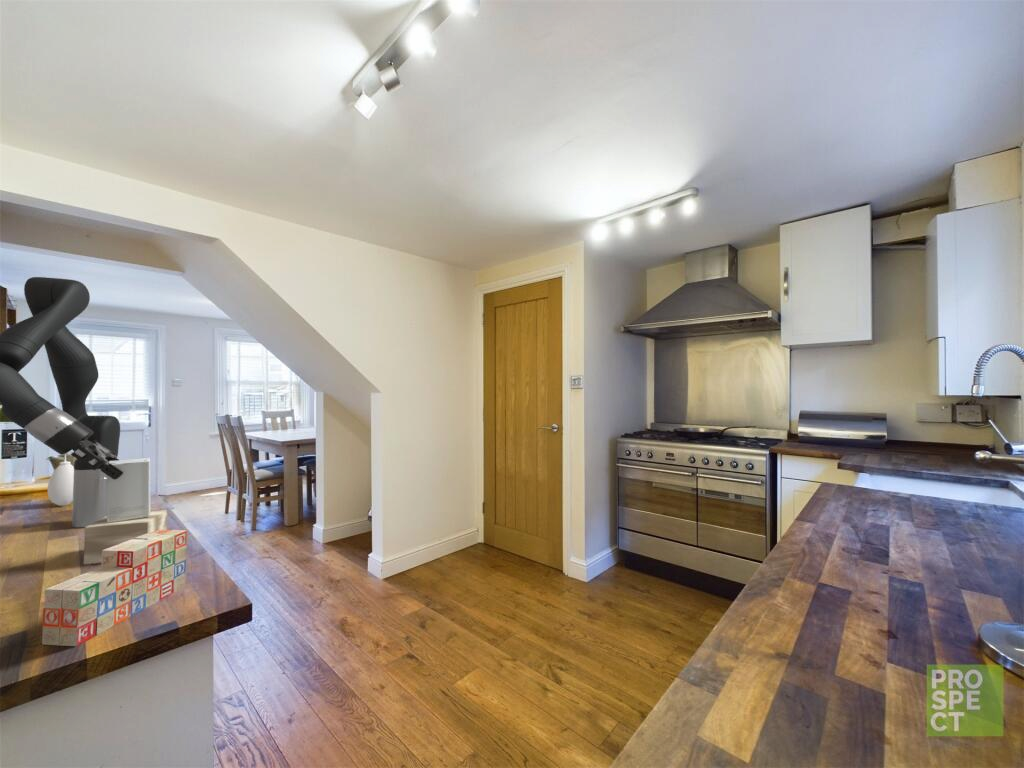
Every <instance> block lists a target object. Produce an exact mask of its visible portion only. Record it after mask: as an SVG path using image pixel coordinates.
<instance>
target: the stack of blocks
mask: <svg viewBox="0 0 1024 768" xmlns="http://www.w3.org/2000/svg"><path fill="white" fill-rule="evenodd" d="M187 541H188V530H187V529H185V530H184V529H183V530H182V529H167V530H158V531H155V532H152V533H149V534H144V535H141V536H138V537H136V538H134V539H132V540H129V541H126V542H123V543H121V544H119V545H115V546H113V547H110V548H107V549H104V550H102V562H101V563H100V567H97V568H94V569H92V570H90V571H87V572H86V573H85V572H84V573H82V574H79V575H77V576H75V577H72V578H69V579H67V580H65V581H63V582H60V583H57V584H55V585H53V586H50V587H46V588H45V590H44V601H43V603H44V605H43V610H42V633H41V634H42V635H41V636H42V641H41V643H42V645H45V646H46V645H48V646H62V647H64V646H65V647H78V646H80V645H82V644H83V643H85V642H87V641H88V640H90V639H92V638H93V637H94V638H95V636H99V635H100V634H102V633H104V632H105V631H108V630H109V629H111V628H112V627H115V626H116V625H118V624H120V623H122V622H124V621H125V620H127V619H129V618H130V617H133V616H135V615H136V614H138V613H140V612H142V611H143V610H145V609H147V608H148V607H150V606H153V605H154V604H156V603H158V602H159V601H162V600H163V599H165V598H168V597H169V596H171V595H173V594H174V593H176V592H178V591H180V590H182V589H183V588H185V587H186V581H187V580H186V578H187V575H186V574H187V573H186V572H187V571H186V570H187V557H188V555H187V554H188V544H187V543H188V542H187Z"/></svg>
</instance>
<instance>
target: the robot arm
mask: <svg viewBox="0 0 1024 768" xmlns="http://www.w3.org/2000/svg"><path fill="white" fill-rule="evenodd" d="M23 291H24V292H23V293H24V298H25V301H26V304H27V306H28V308H29V311H30V314H31V316H30V317H28V318H26V319H24V320H21V321H19V322H16V323H14V324H13V325H11V326H9V327H8V328H6V329H5V330H3V331H2V332H1V333H0V404H1V413H2V415H3V416H5V418H7V419H8V420H10V421H11V422H13V423H14V424H16V425H18V427H20V428H22V429H24V430H25V431H26V432H27V433H28V434H30V435H31V436H32V437H33V438H34V439H37V440H38V441H39V442H40V443H42V444H43V445H45V446H47V447H49V449H51V450H53V451H55V452H56V453H58V455H65V454H67V453H69V452H71V451H73V452H72V453H70V455H71V456H72V457H73V458H75V460H74V463H73V467H74V483H73V501H72V510H71V511H72V514H71V526H72V527H73V528H85V527H87V526H89V525H90V524H92V523H94V522H96V521H98V520H100V519H102V518H104V517H105V516H107V480H106V475H108V476H109V477H111V478H112V479H117V478H119V477H120V476H121V475H122V474H123V472H122V471H121V470H119V469H118V468H116V467H115V466H113V465H112V464H109V461H117V460H120V459H118V455H119V447H120V446H119V445H120V436H121V424H120V420H119V418H117V417H116V416H113V415H89V414H88V412H87V408H86V401H87V399H88V396H89V395H90V393H91V391H92V390H93V388H94V387H95V385H96V384H97V382H98V379H99V370H98V364H97V361H96V358H95V355H94V354H93V352H92V351H91V349H90V348H89V347H88V346H86V345H85V343H84V342H82V340H80V339H79V338H78V337H77V336H75V334H73V332H71V331H70V329H68V327H67V325H68V324H70V323H71V322H72V321H73V320H74V319H75V318H77V317H78V316H79V315H81V314H82V313H84V311H85V310H86V309H87V307H88V305H89V304H90V299H91V297H90V292H89V290H88V288H87V286H86V285H85V284H84V283H83V282H81V281H78V280H75V279H68V278H57V277H45V276H44V277H43V276H33V277H29V278H28V279H27V280H26V281H25V283H24V287H23ZM43 347H44V348H45V351H46V355H47V360H48V363H49V367H50V369H51V373H52V376H53V379H54V380H53V381H54V382H55V386H56V388H57V392H58V395H59V399H60V403H61V408H62V409H61V408H58V407H57V406H55V405H54V404H52V403H51V402H50V401H48V400H47V399H45V398H44V397H42V396H41V395H39V394H38V392H36V389H34V387H32V385H31V384H30V383H29V382H28V381H27V380H26V378H24V376H22V374H21V373H19V372H21V370H22V369H23V368H25V367H26V366H27V365H28V364H29V363H30V362H31V361H32V360H33V358H34V357H35V356H36V355H37V353H38V352H39V351H40V349H41V348H43ZM108 464H109V465H108Z"/></svg>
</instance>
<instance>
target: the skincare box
mask: <svg viewBox="0 0 1024 768" xmlns="http://www.w3.org/2000/svg"><path fill="white" fill-rule="evenodd" d="M109 464H112V465H113V466H115V467H116V468H118V469H119V470H121V471H122V472H123V474H122V475H121V476H120V477H119V478H117V479H112V478H111V477H109V476H108V475H106V480H107V523H109V522H116V521H123V520H129V519H136V518H144V517H149V514H150V510H151V457H141V458H131V459H121V460H120V459H119V460H117V461H109ZM109 464H108V465H109Z"/></svg>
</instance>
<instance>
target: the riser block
mask: <svg viewBox="0 0 1024 768" xmlns="http://www.w3.org/2000/svg"><path fill="white" fill-rule="evenodd" d="M158 530H168V508H165V509H155V510H151V509H150V514H149V517H144V518H136V519H129V520H123V521H116V522H109V523H107V516H105V517H104V518H102V519H100V520H98V521H96V522H94V523H92V524H90V525H89V526H87V527H84V545H83V565H92V563H93V564H101V562H102V550H104V549H107V548H110V547H113V546H115V545H119V544H121V543H123V542H126V541H129V540H132V539H134V538H136V537H138V536H141V535H144V534H149V533H152V532H155V531H158Z"/></svg>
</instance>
